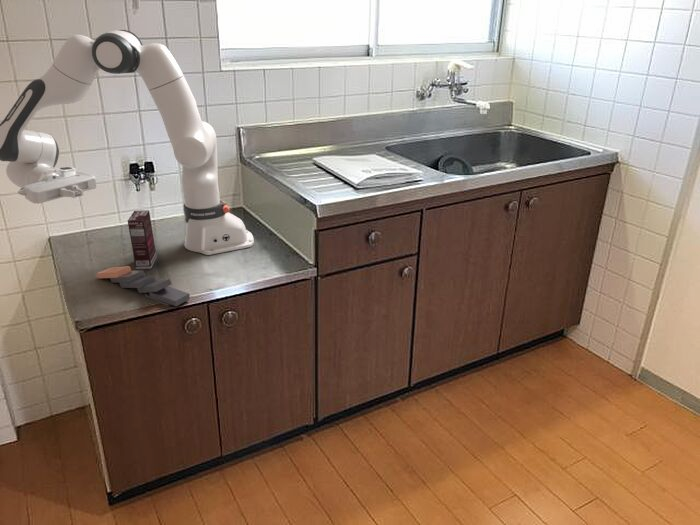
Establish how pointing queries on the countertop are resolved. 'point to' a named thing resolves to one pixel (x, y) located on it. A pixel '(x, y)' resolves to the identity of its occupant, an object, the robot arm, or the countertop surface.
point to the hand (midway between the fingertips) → (78, 194)
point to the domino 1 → (114, 272)
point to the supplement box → (142, 239)
